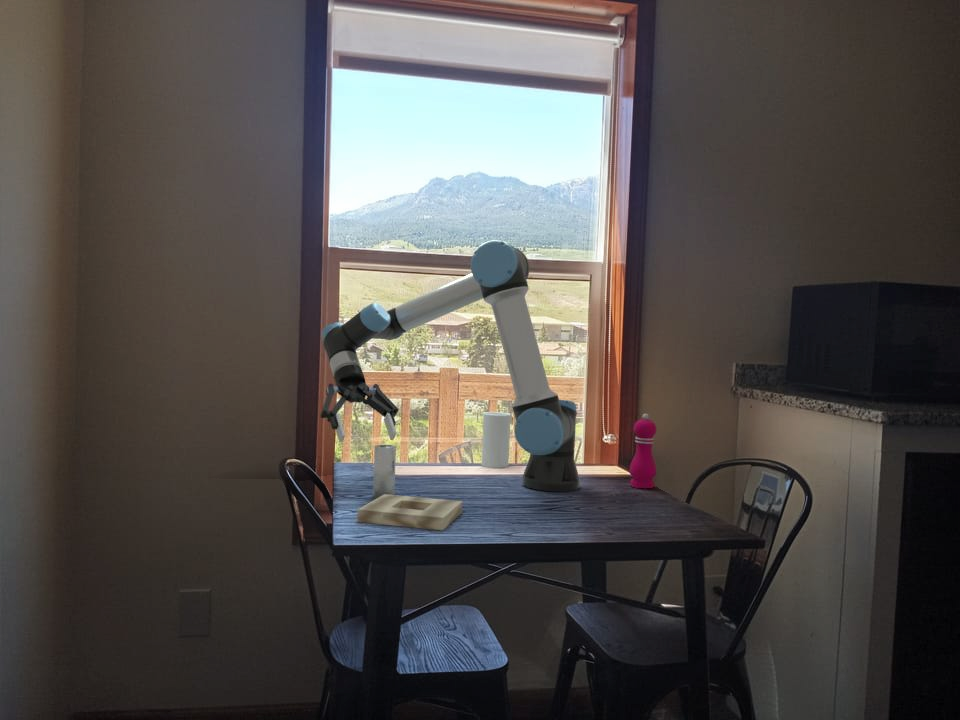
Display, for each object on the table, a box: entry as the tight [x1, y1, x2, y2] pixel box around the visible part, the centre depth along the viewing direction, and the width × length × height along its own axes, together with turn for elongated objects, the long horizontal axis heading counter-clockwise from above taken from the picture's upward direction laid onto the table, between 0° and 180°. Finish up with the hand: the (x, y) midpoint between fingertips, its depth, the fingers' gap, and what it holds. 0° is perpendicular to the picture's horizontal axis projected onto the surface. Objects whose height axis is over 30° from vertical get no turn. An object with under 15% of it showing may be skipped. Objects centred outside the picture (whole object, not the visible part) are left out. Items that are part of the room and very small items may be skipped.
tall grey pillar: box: [372, 444, 397, 499], centre depth 172 cm, size 5×5×12 cm
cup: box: [481, 411, 512, 469], centre depth 222 cm, size 8×8×16 cm
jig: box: [356, 494, 463, 531], centre depth 154 cm, size 18×16×2 cm
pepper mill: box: [629, 413, 658, 490], centre depth 198 cm, size 7×7×20 cm
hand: (368, 437), depth 179 cm, fingers open, 13 cm apart
